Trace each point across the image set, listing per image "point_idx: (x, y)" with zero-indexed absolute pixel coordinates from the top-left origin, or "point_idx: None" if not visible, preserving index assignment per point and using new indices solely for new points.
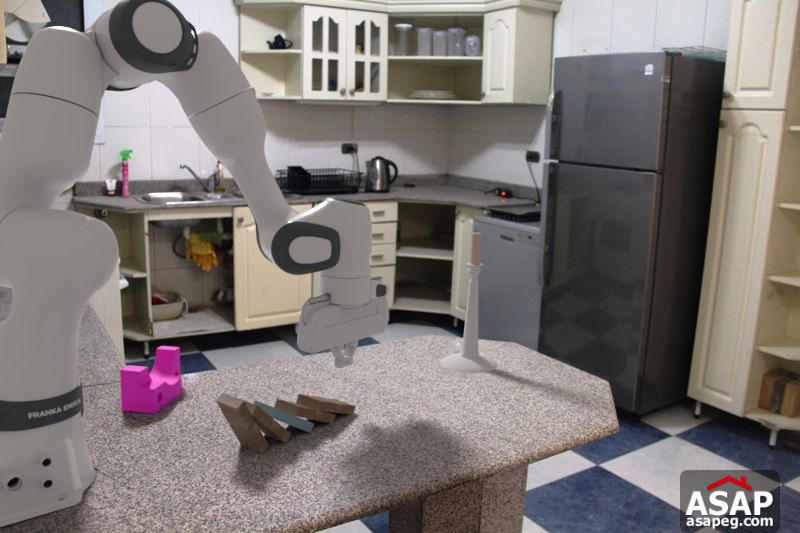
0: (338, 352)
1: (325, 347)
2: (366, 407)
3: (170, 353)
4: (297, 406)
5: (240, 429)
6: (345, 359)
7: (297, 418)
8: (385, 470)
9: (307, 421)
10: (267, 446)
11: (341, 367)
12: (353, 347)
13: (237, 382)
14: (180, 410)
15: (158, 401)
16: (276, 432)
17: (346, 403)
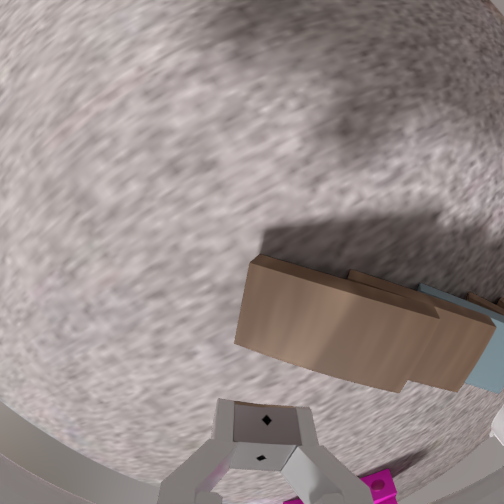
0: (357, 482)
1: (501, 480)
2: (180, 250)
3: None
4: (495, 328)
5: None
6: (286, 437)
7: (477, 311)
8: (485, 52)
9: (446, 299)
10: (500, 300)
11: (308, 408)
12: (201, 484)
13: (235, 481)
14: (375, 463)
15: (374, 481)
16: (501, 308)
17: (254, 296)
